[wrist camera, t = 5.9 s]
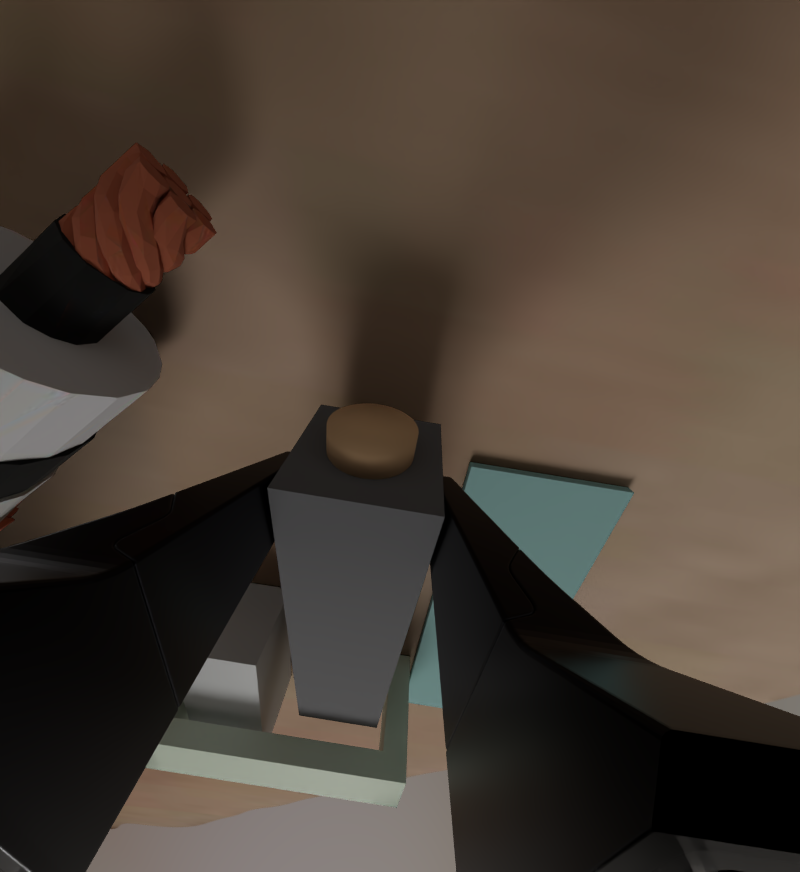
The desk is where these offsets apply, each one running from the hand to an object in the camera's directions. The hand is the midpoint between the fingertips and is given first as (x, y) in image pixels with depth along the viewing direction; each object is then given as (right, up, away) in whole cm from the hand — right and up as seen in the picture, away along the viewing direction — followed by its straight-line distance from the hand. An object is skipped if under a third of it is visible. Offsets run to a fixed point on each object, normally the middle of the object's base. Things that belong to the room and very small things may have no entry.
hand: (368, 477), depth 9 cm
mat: (+6, -9, +8) cm, 14 cm away
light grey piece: (-5, -13, +11) cm, 18 cm away
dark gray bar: (-1, -5, +5) cm, 7 cm away
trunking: (-8, -11, +10) cm, 17 cm away
